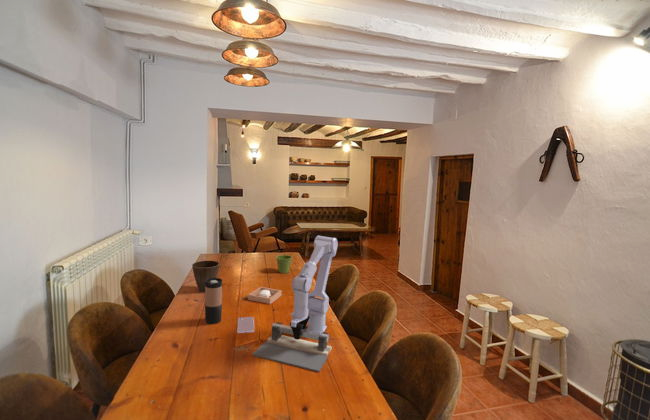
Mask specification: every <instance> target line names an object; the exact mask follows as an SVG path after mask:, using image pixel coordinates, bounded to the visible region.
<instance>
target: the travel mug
mask: <svg viewBox="0 0 650 420" xmlns="http://www.w3.org/2000/svg"><path fill="white" fill-rule="evenodd" d="M222 307H223V279H222V278H219V277H217V278H210V279H207V280H206V281H205V292H204V320H205V321H204V323H206V324H207V325H217V324H219V323H220V322H221V321H222V310H223V309H222Z"/></svg>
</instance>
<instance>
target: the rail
mask: <svg viewBox="0 0 650 420" xmlns="http://www.w3.org/2000/svg"><path fill="white" fill-rule="evenodd" d="M276 323H277V322H273V323H272V324H271V327H272V326H275V327H278V332H282V333H283V334H287V335H292V336H294V335H293V331H292V328H291V327H290V325H284V324H282V325H281V324H276ZM319 336H321V337H325V342H327V343H328V341H329V337H330V335H329V333H328V334H323V333H319V332H314V331H309V330H306V329H302V330H301V334H300V338H301V337H302V338H306V339H311V340H315V341H318V339H319Z"/></svg>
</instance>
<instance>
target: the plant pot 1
mask: <svg viewBox="0 0 650 420" xmlns="http://www.w3.org/2000/svg"><path fill="white" fill-rule="evenodd" d="M191 265H192V273H193V277H194V279H195V283H196V286H197V288H198V290H199V292H201V293H205V281H206V280H207V279H210V278H218V273H219V268H220V262H219V261H216V260H201V261H195V262H194V263H192V264H191Z"/></svg>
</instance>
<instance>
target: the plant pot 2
mask: <svg viewBox="0 0 650 420" xmlns="http://www.w3.org/2000/svg"><path fill="white" fill-rule="evenodd" d="M275 258H276V261H277V268H278V269H277V270H278V273H279V274H288V273H289V272H290V267H291V262H292V259H293V256H292V255H289V254H279V255H276V256H275Z"/></svg>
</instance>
